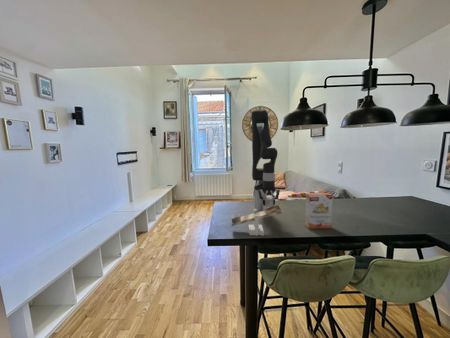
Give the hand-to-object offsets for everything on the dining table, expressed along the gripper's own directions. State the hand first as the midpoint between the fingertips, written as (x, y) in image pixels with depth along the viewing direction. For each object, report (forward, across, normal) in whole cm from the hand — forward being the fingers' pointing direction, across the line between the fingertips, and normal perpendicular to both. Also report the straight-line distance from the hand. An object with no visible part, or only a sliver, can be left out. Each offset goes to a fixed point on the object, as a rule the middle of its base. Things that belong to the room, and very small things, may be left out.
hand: (268, 205), depth 139 cm
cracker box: (+12, -29, +8) cm, 32 cm away
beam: (+2, +9, +14) cm, 17 cm away
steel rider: (0, 0, 0) cm, 0 cm away
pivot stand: (+11, +10, +14) cm, 20 cm away
